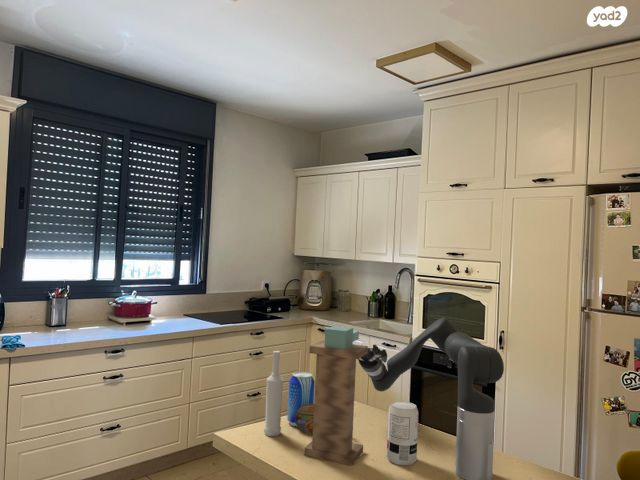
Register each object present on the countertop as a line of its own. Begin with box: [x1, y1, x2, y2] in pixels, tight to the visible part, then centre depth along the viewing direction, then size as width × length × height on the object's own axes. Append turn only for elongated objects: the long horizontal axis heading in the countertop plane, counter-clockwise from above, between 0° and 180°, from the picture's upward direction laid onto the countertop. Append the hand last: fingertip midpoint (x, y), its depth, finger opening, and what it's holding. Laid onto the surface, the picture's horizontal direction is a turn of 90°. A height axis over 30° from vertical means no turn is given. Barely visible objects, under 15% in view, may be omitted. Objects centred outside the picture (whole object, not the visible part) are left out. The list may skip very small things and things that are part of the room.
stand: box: [303, 340, 369, 467], centre depth 131 cm, size 14×10×30 cm
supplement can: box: [386, 400, 419, 466], centre depth 129 cm, size 8×8×15 cm
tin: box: [295, 404, 314, 434], centre depth 147 cm, size 15×3×8 cm, turn 84°
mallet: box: [324, 325, 360, 349], centre depth 137 cm, size 6×19×5 cm, turn 159°
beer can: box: [286, 371, 315, 428], centre depth 153 cm, size 8×8×16 cm
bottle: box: [263, 350, 284, 437], centre depth 144 cm, size 5×5×25 cm
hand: (361, 345), depth 153 cm, fingers open, 8 cm apart
